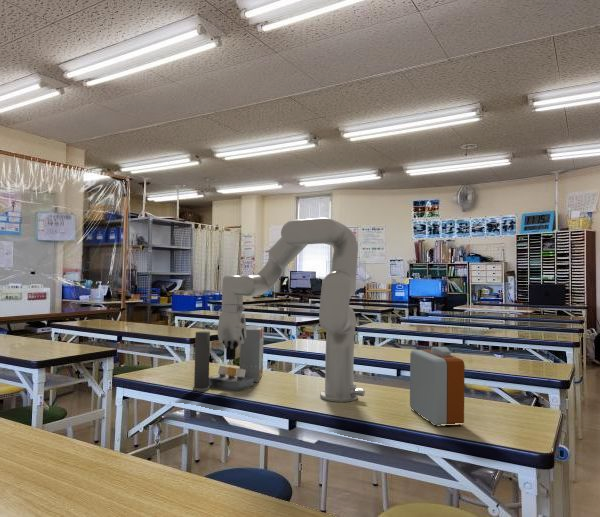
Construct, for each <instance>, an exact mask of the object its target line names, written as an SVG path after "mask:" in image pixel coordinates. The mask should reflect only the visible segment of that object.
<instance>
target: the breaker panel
mask: <svg viewBox="0 0 600 517" xmlns="http://www.w3.org/2000/svg"><path fill="white" fill-rule="evenodd" d="M253 381H254V378H251V377H244V378H243V379H237V376H234V377H233V378H231V377H228V375H225V376H220V375H219V374H216V375H213V376H209V388H210V387H212V388H215V389H216V388H217V389H223V390H229V391H234V392H235V391H236V392H241V391H244V390H247V389H249V388H248V387H250V388H251V386H252V387H254V382H253ZM246 388H247V389H246ZM243 389H244V390H243Z"/></svg>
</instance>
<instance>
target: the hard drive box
mask: <svg viewBox="0 0 600 517" xmlns="http://www.w3.org/2000/svg"><path fill="white" fill-rule="evenodd" d="M264 335H265V326H263V325H246V339H244V344H240V345H239V349H240V350H239V369H244V370H246V372H245V377H251V378H254V381H253V383H259V381H260V380H261V378H262V376H263V372H264V370H263V368H264Z"/></svg>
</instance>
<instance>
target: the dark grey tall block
mask: <svg viewBox="0 0 600 517" xmlns="http://www.w3.org/2000/svg"><path fill="white" fill-rule="evenodd" d="M210 337H211V332H210V331H196V332H195V338H194V340H195V341H194V342H195V344H194V382H193V383H194V384H193V387H192V389H194V390H193V391H195V390H197V391H196V392H206V391H209V390H210V386H209V377H210V348H211V347H210V346H211V344H210V342H211V341H210Z"/></svg>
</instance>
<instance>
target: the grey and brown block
mask: <svg viewBox="0 0 600 517" xmlns="http://www.w3.org/2000/svg"><path fill="white" fill-rule="evenodd" d="M409 358H410V361H409V362H410V363H409V366H410V367H409V408H410V407H411V408H412V409H413V410H415V411H416V412H417V413H419V414H420V415H422V416H423V417H425V418H426V419H428V420H429V421H430V422H432V423H433V424H435V425H441V424H455V423H465V370H466V369H465V361H464V360H463V359H462V358H459V357H455V356H454V355H451V351H450V349H449V348H448V347H447V346H432V347H431V348H430V349H413V350H411V351H410V357H409ZM411 408H410V409H411ZM412 409H411V410H412ZM413 410H412V411H413ZM416 412H415V413H416ZM417 413H416V414H417ZM420 415H419V416H420ZM423 417H422V418H423Z"/></svg>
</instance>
